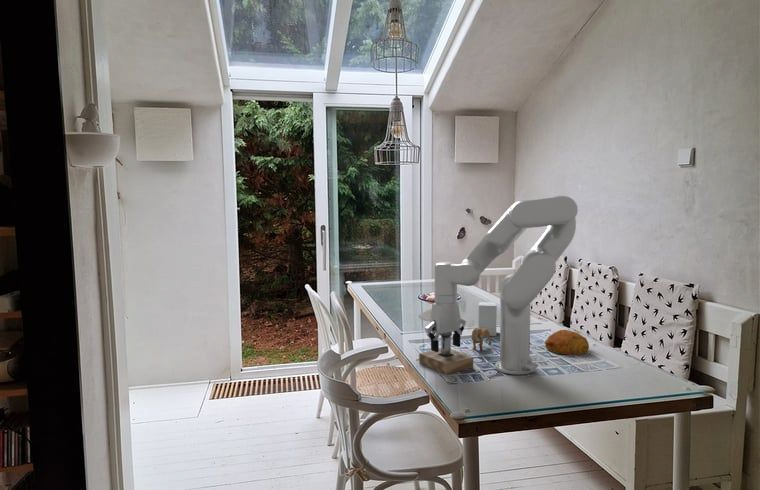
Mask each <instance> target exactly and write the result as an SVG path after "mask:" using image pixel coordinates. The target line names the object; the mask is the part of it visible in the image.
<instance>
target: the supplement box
mask: <svg viewBox="0 0 760 490" xmlns="http://www.w3.org/2000/svg"><path fill="white" fill-rule="evenodd" d="M477 307H478V310H477V311H478V313H477V315H478V317H477V328H480V329H484V328H486V329H487V330H488V331H489V335H490V337H496V336H497V309H498V308H497V302H496V301H495V302H494V301H493V302H491V301H490V302H485V301H484V302H481V301H478V306H477Z"/></svg>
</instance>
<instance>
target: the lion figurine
mask: <svg viewBox="0 0 760 490" xmlns="http://www.w3.org/2000/svg"><path fill="white" fill-rule="evenodd" d="M485 338H486V340H485ZM484 340H485V342H488V343H487V345H488V346H491V345H492V339H491V336H490V335H489V331H488V330H487V329H486V328H484V329H480V328H478V327H475V328H474V329H473V330H472V331H471V341H472V345H473V347H472V350H473V351H476V349H477V346H476V345H478V346H479V348H478V349H479V351H481V350H482V351H484V349H483V344H484Z"/></svg>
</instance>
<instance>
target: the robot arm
mask: <svg viewBox="0 0 760 490" xmlns="http://www.w3.org/2000/svg"><path fill="white" fill-rule="evenodd" d="M578 211H579V209H578V205H577V203H576V201H575V200H574V199H573V198H571V197H569V196H566V195H555V196H553V197H546V198H545V197H544V198H540V199H528V200H522V199H520V200H517V201H515V202H514V203H512V204H511V205H510V207H508V209H506V211H505V212H504V214H502V215H501V217H500V218H499V219H497V221H496V223H495V224H494V225H493V226H492V227H491V228H490V229H489V230H488V231H487V233H486V234H485V235H484V236H483V237H482V239H481V240H480V241H479V242H478V243H477V244H476V246H475V247H474V248H473V249H472V250H471V251H470V253H468V255H467V256H466V257H465V258H464V259H463V260H462V262H461V263H459V264H456V262H452V261H439V262H437V263H435V265H434V303H432V305H431V311H430V320H429V324H427V325H426V326H425V327H424V331H425V333H426V336H427V337H428V338H429V340H430V348H431V349H430V351H431V350H432V351H435V352H438V351H439V349H440V347H439V340H438V339H439V337H440V334H444V333H448V332H452V345H453V346H455V347H457V348H460V347H461V336H462V335H463V331H464V329H465V326H466V325H467V321H466V320H464V319H463V318H461V311H460V305H459V302H458V298H459V293H458V286H466V287H471V286H475V285H476V284H478V282H480V279H481V274H482V273H483V272H484V271H485V270H486V268H487V267H489V265H490V264H492V262H493V261H494V260H495V259H496V258H497V257H499V256H500V255H502V254H504V253H506V252H507V251H508V250H509V249H510V248H511V246H513V244H514V243H515V242H517V240H518V239H519V238H520V237H521V236H522V234H523V233H525V231H526V230H527V229H530V228H540V227H541V228H542V227H547V228H546V229H545V231H544V232H543V233H542V234H541V236H540V237H539V239H538V240H537V241H536V242H535V243H534V245H532V247H531V248H530V249H529V250H528V251H527V252H526V253H525V254H524V256H523V258H522V261H521V265H520V266H519V267H518V269H517V270H516V271H515V272H514V273H511V274H508V275H506V276H505V277H503V279H502V281H501V283H500V288H499V297H500V299H499V300H500V301H499V303H500V308H499V310H500V311H499V312H500V315H499V317H500V320H499V321H500V324H499V333H500V334H499V360H498V361H496V362H495V364H494V368H495V369H496V370H497V371H499V372H501V373H505V374H508V375H518V376H519V375H520V376H521V375H528V374H531V373H533V372H536V371H537V369H538V367H539V363H536V362H533V357H532V356H530V353H531V349H530V347H531V346H530V345H531V303H532V302H533V301H534V300H535V299H536V297H537V296H538V295H539V294H540V293H541V292H542V290H544V288H545V287H546V286H547V285H548V284H549V282H550V281H551V280H552V278H553V277H554V275H555V273H556V269H557V264H556V262H557V261H558V260H559V259H560V257H562V255H563V253H564V252H565V251H566V249H567V248H568V247H569V246H570V244H571V242H572V241H573V239H574V237H575V233H576V229H577V227H576V226H577V220H576V217H577V215H578Z"/></svg>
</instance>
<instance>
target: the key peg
mask: <svg viewBox="0 0 760 490" xmlns="http://www.w3.org/2000/svg"><path fill="white" fill-rule="evenodd" d="M439 337H440V338H441V339H440V348H441V356H442V357H445V358H446V357H450V356H451V348H452V347H451V345H452V344H451V343H452V342H451V340H452V339H451V337H453V332H448V333H444V334H440V335H439Z"/></svg>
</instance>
